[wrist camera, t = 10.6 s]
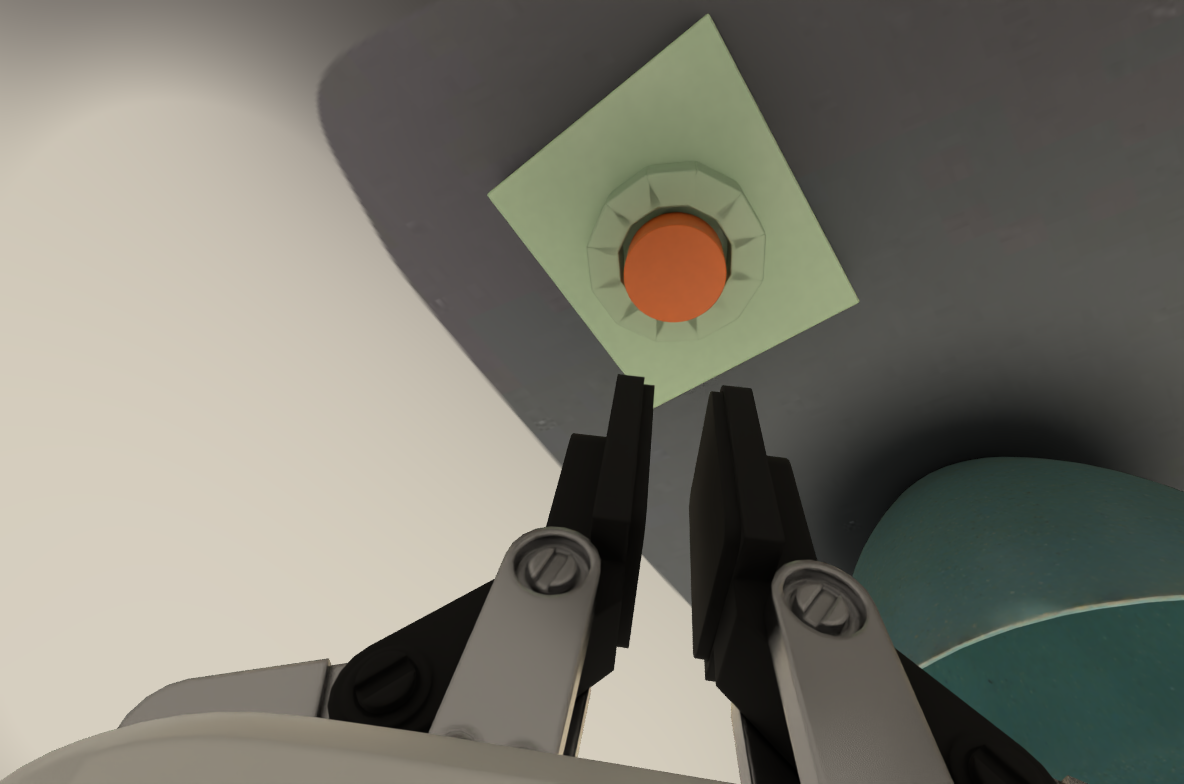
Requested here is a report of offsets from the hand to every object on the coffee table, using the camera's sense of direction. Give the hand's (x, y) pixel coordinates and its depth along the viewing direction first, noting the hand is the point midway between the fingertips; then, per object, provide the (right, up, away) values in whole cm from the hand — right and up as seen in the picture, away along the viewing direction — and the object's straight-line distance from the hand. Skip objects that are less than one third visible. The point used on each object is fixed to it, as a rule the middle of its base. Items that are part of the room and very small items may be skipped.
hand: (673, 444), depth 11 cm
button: (+1, +6, +10) cm, 12 cm away
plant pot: (+19, -6, +19) cm, 27 cm away
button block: (+2, +8, +13) cm, 15 cm away
